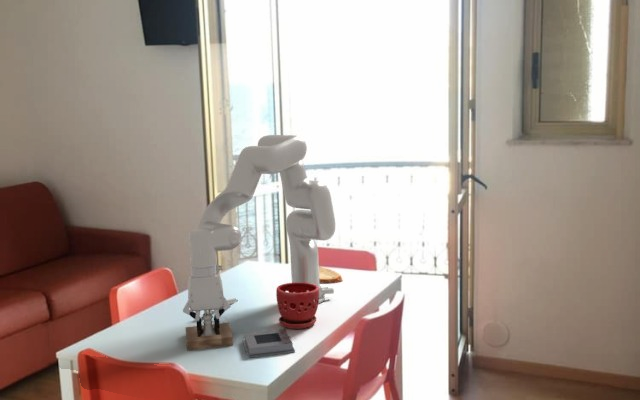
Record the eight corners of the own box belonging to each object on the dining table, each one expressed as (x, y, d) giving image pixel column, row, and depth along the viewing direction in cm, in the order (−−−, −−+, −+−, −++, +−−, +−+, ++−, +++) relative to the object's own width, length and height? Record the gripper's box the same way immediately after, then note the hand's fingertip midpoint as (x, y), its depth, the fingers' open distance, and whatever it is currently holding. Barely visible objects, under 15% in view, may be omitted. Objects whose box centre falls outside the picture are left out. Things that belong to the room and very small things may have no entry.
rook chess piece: (202, 338, 202) (200, 312, 201) (217, 337, 203) (215, 311, 201) (200, 343, 198) (198, 317, 197) (216, 342, 198) (214, 316, 197)
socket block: (229, 330, 208) (228, 322, 207) (233, 345, 195) (232, 336, 195) (186, 335, 205) (185, 327, 205) (187, 350, 193) (186, 342, 192)
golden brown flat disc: (343, 283, 254) (342, 274, 254) (295, 285, 255) (294, 276, 254) (341, 271, 272) (341, 262, 272) (296, 273, 272) (296, 264, 272)
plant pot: (305, 334, 202) (303, 295, 200) (269, 327, 209) (267, 289, 207) (328, 320, 213) (326, 283, 211) (293, 315, 220) (291, 279, 218)
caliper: (207, 320, 219) (206, 301, 218) (204, 319, 220) (203, 301, 219) (238, 301, 238) (237, 283, 237) (235, 301, 238) (234, 283, 237)
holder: (286, 336, 201) (286, 328, 200) (294, 352, 188) (294, 343, 188) (242, 341, 198) (242, 333, 198) (248, 358, 185) (247, 349, 185)
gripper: (231, 265, 202) (235, 324, 205) (174, 270, 199) (179, 330, 202) (234, 271, 195) (238, 332, 198) (175, 277, 192) (179, 339, 194)
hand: (208, 331), depth 200 cm, fingers open, 3 cm apart
